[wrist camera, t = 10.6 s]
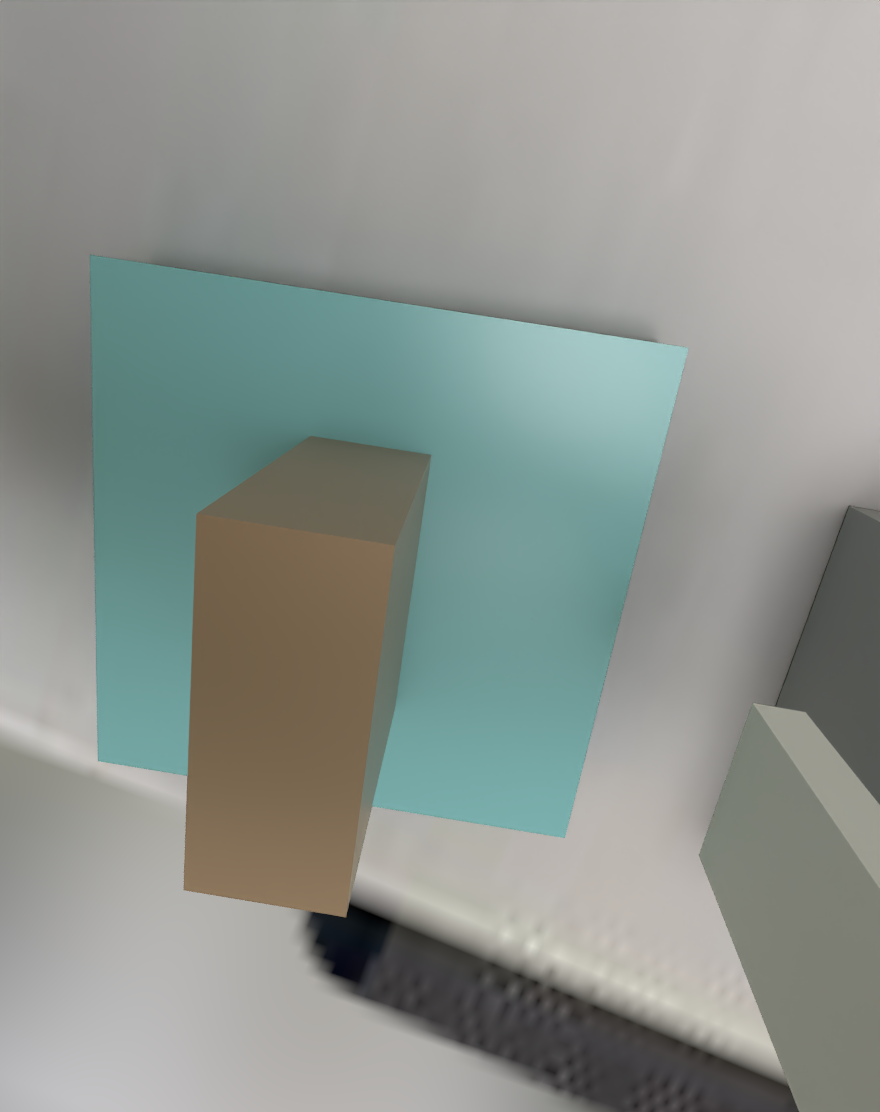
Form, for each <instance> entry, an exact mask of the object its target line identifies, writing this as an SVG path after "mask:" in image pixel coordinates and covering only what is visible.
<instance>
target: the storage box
mask: <svg viewBox="0 0 880 1112" xmlns="http://www.w3.org/2000/svg"><path fill="white" fill-rule="evenodd" d="M776 707H779V708H785V709H790V710H796V711H802V712H806V713H807V715H808V716H809V717H810V718H811V720H812V721H813V722H814V723H815V725H816V726H817V727H818V728H819V730H820V731H821V732H822V733H823V735H824V736H825V737H826V738H827V740H828V741H829V742H830V743H831V745H832V746H833V747H834V748H835V750H836V751H837V752H838V753H839V755H840V756H841V757H842V758H843V760H844V761H845V762H846V763H847V765H848V766H849V767H850V768H851V770H852V771H853V772H854V773H855V775H856V776H857V777H858V778H859V780H860V781H861V782H862V783H863V785H864V786H865V787H866V788H867V790H868V791H869V792H870V793H871V795H872V796H873V797H874V798H875V800H876V801H877V802H878V803H879V805H880V511H876V510H870V509H864V508H858V507H852V506H849V508H848V511H847V514H846V516H845V519H844V522H843V524H842V527H841V530H840V533H839V535H838V538H837V541H836V544H835V546H834V549H833V552H832V554H831V557H830V560H829V563H828V565H827V568H826V571H825V574H824V576H823V579H822V582H821V584H820V587H819V590H818V593H817V595H816V598H815V601H814V604H813V606H812V609H811V612H810V614H809V617H808V620H807V623H806V625H805V628H804V631H803V634H802V636H801V639H800V642H799V645H798V647H797V650H796V653H795V655H794V658H793V661H792V664H791V666H790V669H789V672H788V675H787V677H786V680H785V683H784V685H783V688H782V691H781V694H780V696H779V699H778V702H777V705H776Z"/></svg>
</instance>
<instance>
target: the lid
mask: <svg viewBox="0 0 880 1112" xmlns="http://www.w3.org/2000/svg"><path fill="white" fill-rule="evenodd" d="M90 299H91V362H92V424H93V487H94V549H95V612H96V675H97V737H98V761H101V762H107V763H113V764H119V765H125V766H131V767H137V768H144V769H150V770H156V771H162V772H168V773H174V774H180V775H186V776H187V805H186V835H185V864H184V890H187V891H192V892H199V893H204V894H210V895H216V896H222V897H228V898H234V899H241V900H247V901H252V902H258V903H264V904H270V905H276V906H282V907H288V908H294V909H300V910H306V911H312V912H318V913H324V914H330V915H336V916H342V917H346V914H347V910H348V906H349V901H350V897H351V893H352V889H353V884H354V880H355V876H356V872H357V867H358V863H359V859H360V855H361V851H362V846H363V842H364V838H365V834H366V829H367V825H368V821H369V817H370V812H371V808H372V806H374V807H380V808H386V809H392V810H398V811H404V812H410V813H417V814H423V815H429V816H435V817H441V818H447V819H453V820H459V821H465V822H471V823H477V824H483V825H489V826H495V827H501V828H507V829H514V830H520V831H526V832H532V833H538V834H544V835H550V836H556V837H562V838H565V835H566V831H567V827H568V823H569V819H570V815H571V811H572V807H573V803H574V799H575V795H576V792H577V788H578V784H579V780H580V776H581V772H582V768H583V764H584V760H585V756H586V752H587V748H588V744H589V740H590V736H591V732H592V728H593V724H594V720H595V716H596V712H597V708H598V705H599V701H600V697H601V693H602V689H603V685H604V681H605V677H606V673H607V669H608V665H609V661H610V657H611V653H612V649H613V645H614V641H615V637H616V633H617V629H618V625H619V621H620V618H621V614H622V610H623V606H624V602H625V598H626V594H627V590H628V586H629V582H630V578H631V574H632V570H633V566H634V562H635V558H636V554H637V550H638V546H639V542H640V538H641V534H642V530H643V527H644V523H645V519H646V515H647V511H648V507H649V503H650V499H651V495H652V491H653V487H654V483H655V479H656V475H657V471H658V467H659V463H660V459H661V455H662V451H663V447H664V443H665V440H666V436H667V432H668V428H669V424H670V420H671V416H672V412H673V408H674V404H675V400H676V396H677V392H678V388H679V384H680V380H681V376H682V372H683V368H684V364H685V360H686V356H687V353H688V349H689V348H687V347H681V346H675V345H668V344H662V343H656V342H650V341H643V340H637V339H630V338H624V337H617V336H611V335H605V334H598V333H592V332H585V331H579V330H572V329H566V328H560V327H553V326H547V325H540V324H534V323H527V322H521V321H515V320H508V319H502V318H495V317H489V316H482V315H476V314H470V313H463V312H457V311H450V310H444V309H437V308H431V307H425V306H418V305H412V304H405V303H399V302H392V301H386V300H380V299H373V298H367V297H360V296H354V295H347V294H341V293H335V292H328V291H322V290H315V289H309V288H302V287H296V286H290V285H283V284H277V283H270V282H264V281H257V280H251V279H245V278H238V277H232V276H225V275H219V274H212V273H206V272H200V271H193V270H187V269H180V268H174V267H167V266H161V265H155V264H148V263H141V262H135V261H128V260H122V259H115V258H109V257H102V256H95V255H90Z"/></svg>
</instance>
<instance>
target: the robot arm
mask: <svg viewBox="0 0 880 1112" xmlns="http://www.w3.org/2000/svg"><path fill="white" fill-rule="evenodd" d="M699 857H700V859H701V862H702V864H703V867H704V869H705V872H706V874H707V877H708V880H709V882H710V885H711V887H712V890H713V892H714V895H715V897H716V900H717V903H718V905H719V908H720V910H721V913H722V915H723V918H724V921H725V923H726V926H727V928H728V931H729V933H730V936H731V938H732V941H733V944H734V946H735V949H736V951H737V954H738V956H739V959H740V961H741V964H742V967H743V969H744V972H745V974H746V977H747V979H748V982H749V984H750V987H751V990H752V992H753V995H754V997H755V1000H756V1002H757V1005H758V1007H759V1010H760V1013H761V1015H762V1018H763V1020H764V1023H765V1025H766V1028H767V1030H768V1033H769V1036H770V1038H771V1041H772V1043H773V1046H774V1048H775V1051H776V1053H777V1056H778V1059H779V1061H780V1064H781V1066H782V1069H783V1071H784V1074H785V1077H786V1079H787V1082H788V1084H789V1087H790V1089H791V1092H792V1094H793V1097H794V1100H795V1102H796V1105H797V1107H798V1110H799V1112H880V805H879V803H878V802H877V801H876V800H875V798H874V797H873V796H872V795H871V793H870V792H869V791H868V790H867V788H866V787H865V786H864V785H863V783H862V782H861V781H860V780H859V778H858V777H857V776H856V775H855V773H854V772H853V771H852V770H851V768H850V767H849V766H848V765H847V763H846V762H845V761H844V760H843V758H842V757H841V756H840V755H839V753H838V752H837V751H836V750H835V748H834V747H833V746H832V745H831V743H830V742H829V741H828V740H827V738H826V737H825V736H824V735H823V733H822V732H821V731H820V730H819V728H818V727H817V726H816V725H815V723H814V722H813V721H812V720H811V718H810V717H809V716H808V715H807V713H806V712H802V711H796V710H790V709H785V708H779V707H773V706H767V705H762V704H756V703H753V704H752V706H751V709H750V712H749V715H748V718H747V721H746V723H745V726H744V729H743V732H742V735H741V738H740V740H739V743H738V746H737V749H736V752H735V755H734V757H733V760H732V763H731V766H730V769H729V771H728V774H727V777H726V780H725V783H724V786H723V788H722V791H721V794H720V797H719V800H718V803H717V805H716V808H715V811H714V814H713V817H712V820H711V822H710V825H709V828H708V831H707V834H706V837H705V839H704V842H703V845H702V848H701V851H700V854H699Z"/></svg>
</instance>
